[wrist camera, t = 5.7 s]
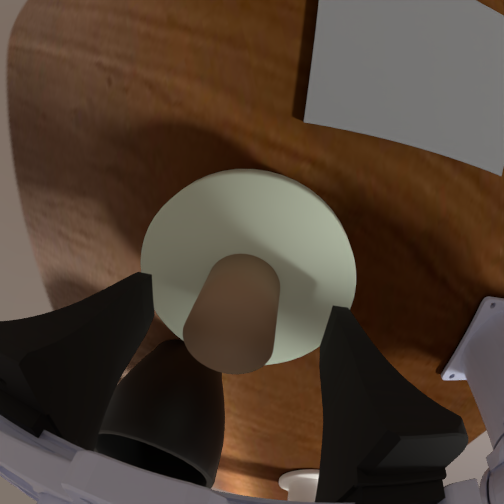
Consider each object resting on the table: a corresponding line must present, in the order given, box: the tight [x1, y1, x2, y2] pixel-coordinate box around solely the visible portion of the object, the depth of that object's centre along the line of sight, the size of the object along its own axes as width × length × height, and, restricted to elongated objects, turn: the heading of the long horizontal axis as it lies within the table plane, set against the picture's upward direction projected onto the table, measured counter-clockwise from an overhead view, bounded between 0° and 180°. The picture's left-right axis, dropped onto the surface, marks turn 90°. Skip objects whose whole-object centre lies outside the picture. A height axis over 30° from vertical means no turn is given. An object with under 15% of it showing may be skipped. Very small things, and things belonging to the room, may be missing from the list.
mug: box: [94, 340, 225, 489], centre depth 20 cm, size 8×12×10 cm
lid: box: [141, 169, 356, 374], centre depth 12 cm, size 9×9×5 cm
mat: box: [303, 0, 504, 176], centre depth 12 cm, size 12×10×1 cm
